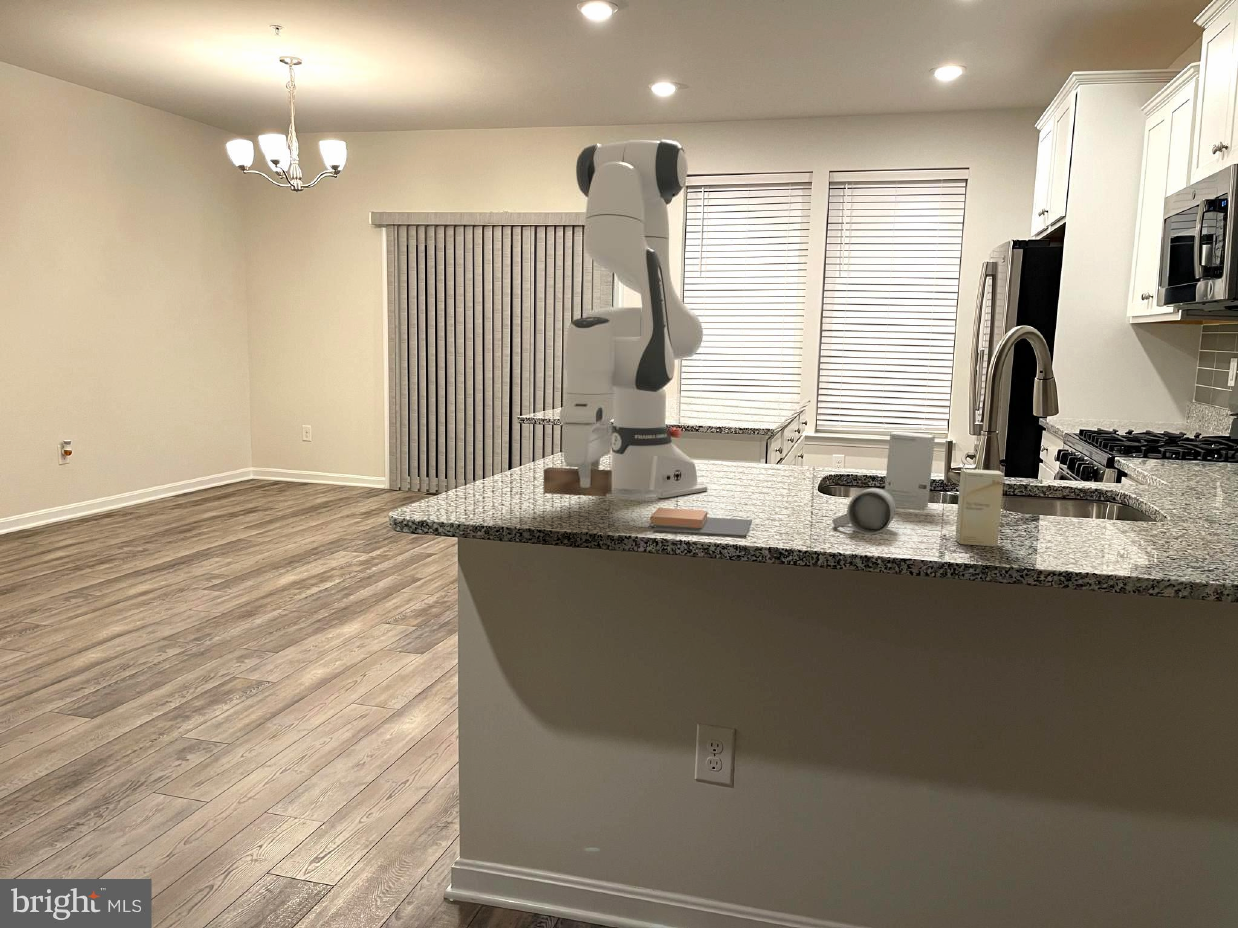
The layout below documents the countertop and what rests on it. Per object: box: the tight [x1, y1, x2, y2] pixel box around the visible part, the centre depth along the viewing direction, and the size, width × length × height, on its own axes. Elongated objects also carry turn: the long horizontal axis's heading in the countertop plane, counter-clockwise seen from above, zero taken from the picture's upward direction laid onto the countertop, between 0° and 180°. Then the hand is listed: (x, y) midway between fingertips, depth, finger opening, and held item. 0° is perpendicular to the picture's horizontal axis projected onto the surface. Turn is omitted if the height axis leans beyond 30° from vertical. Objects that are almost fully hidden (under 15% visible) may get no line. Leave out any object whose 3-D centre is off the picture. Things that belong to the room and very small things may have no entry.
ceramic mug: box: [831, 487, 897, 536], centre depth 159 cm, size 11×8×8 cm
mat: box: [652, 516, 753, 538], centre depth 160 cm, size 16×13×1 cm
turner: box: [543, 466, 662, 502], centre depth 163 cm, size 21×6×4 cm, turn 77°
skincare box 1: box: [884, 431, 936, 511], centre depth 180 cm, size 8×6×15 cm
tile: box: [649, 507, 708, 529], centre depth 161 cm, size 2×8×9 cm
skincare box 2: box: [954, 468, 1005, 547], centre depth 150 cm, size 6×4×12 cm
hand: (589, 485), depth 164 cm, fingers closed on turner, 3 cm apart
